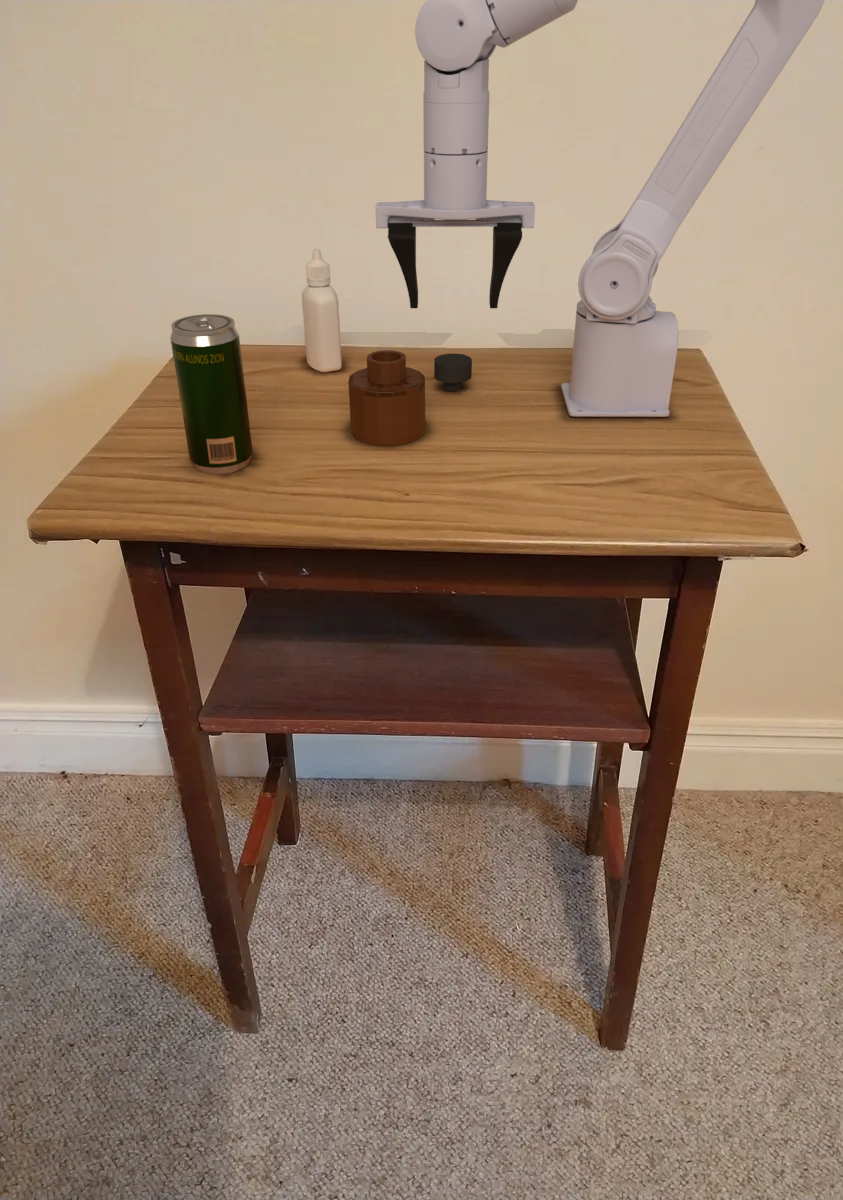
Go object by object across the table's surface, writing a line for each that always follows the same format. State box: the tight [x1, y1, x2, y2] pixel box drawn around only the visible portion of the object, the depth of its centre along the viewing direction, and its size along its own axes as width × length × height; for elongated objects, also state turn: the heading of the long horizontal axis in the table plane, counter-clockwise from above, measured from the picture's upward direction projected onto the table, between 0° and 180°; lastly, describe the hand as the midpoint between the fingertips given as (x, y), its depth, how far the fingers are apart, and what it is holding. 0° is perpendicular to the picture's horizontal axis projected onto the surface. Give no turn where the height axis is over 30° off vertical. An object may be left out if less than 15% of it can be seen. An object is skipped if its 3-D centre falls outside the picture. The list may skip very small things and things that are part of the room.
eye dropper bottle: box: [301, 248, 343, 373], centre depth 96 cm, size 4×6×12 cm
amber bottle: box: [347, 349, 426, 447], centre depth 82 cm, size 7×7×7 cm
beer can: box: [169, 313, 254, 475], centre depth 75 cm, size 5×5×12 cm
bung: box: [433, 353, 473, 392], centre depth 92 cm, size 4×4×3 cm
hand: (453, 305), depth 88 cm, fingers open, 7 cm apart
